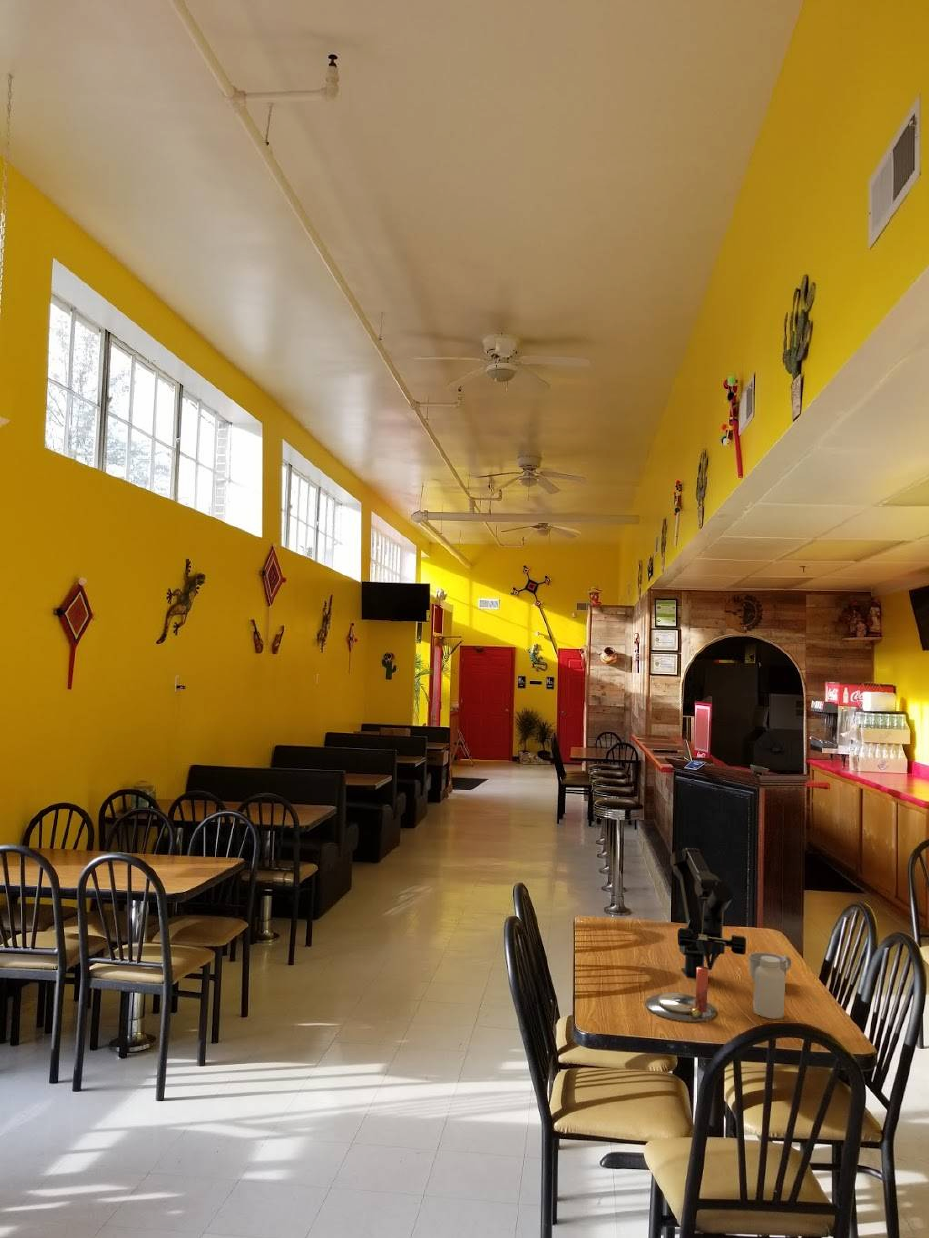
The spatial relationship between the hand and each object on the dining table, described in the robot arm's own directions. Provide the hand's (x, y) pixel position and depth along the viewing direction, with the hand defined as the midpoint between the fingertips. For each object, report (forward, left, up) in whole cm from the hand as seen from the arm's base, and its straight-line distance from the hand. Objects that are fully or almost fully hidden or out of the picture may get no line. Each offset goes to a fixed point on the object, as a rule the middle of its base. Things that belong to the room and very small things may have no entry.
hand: (709, 969), depth 251 cm
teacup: (-21, +27, -11) cm, 36 cm away
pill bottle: (+4, +16, -11) cm, 19 cm away
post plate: (+2, -8, -10) cm, 13 cm away
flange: (+3, -8, -9) cm, 13 cm away
